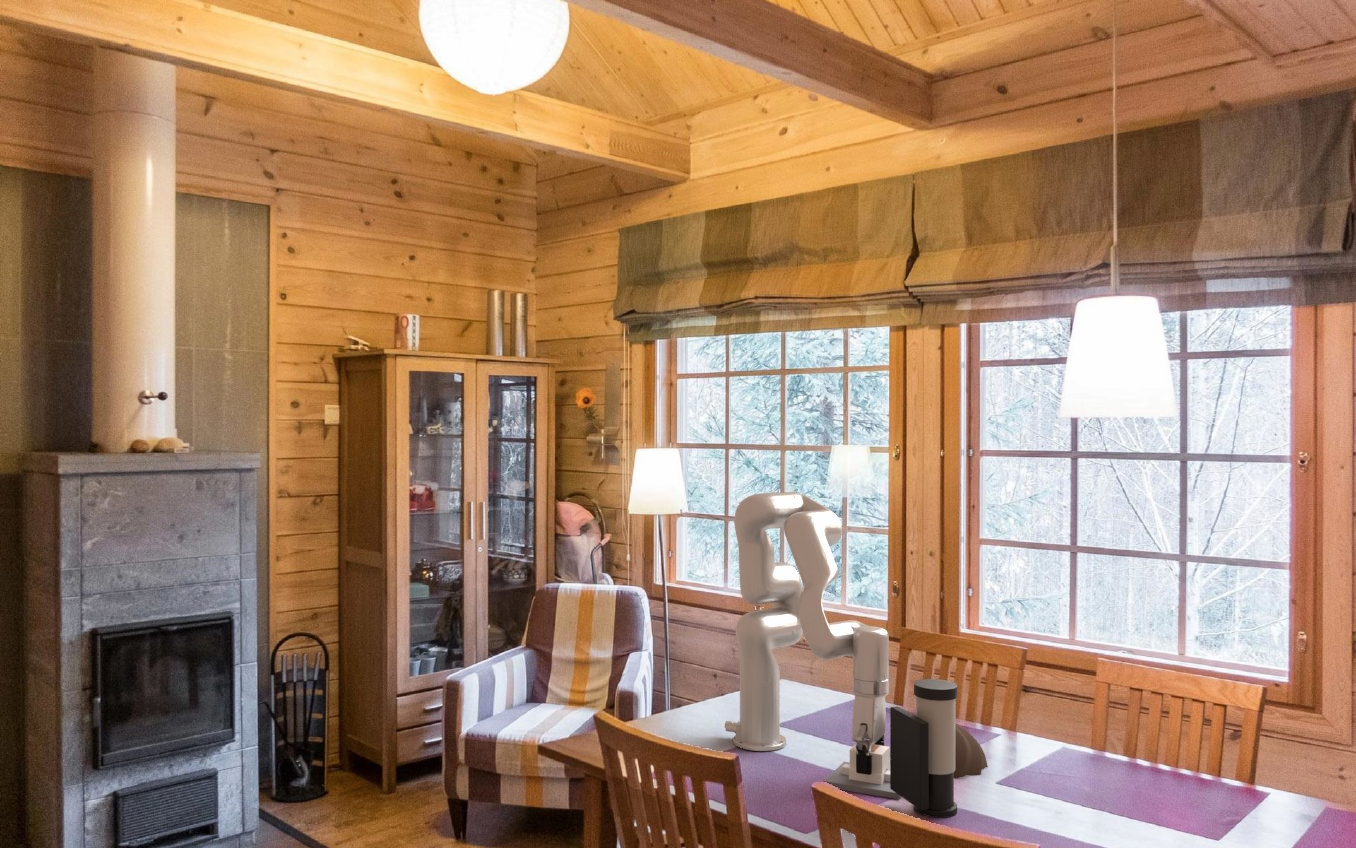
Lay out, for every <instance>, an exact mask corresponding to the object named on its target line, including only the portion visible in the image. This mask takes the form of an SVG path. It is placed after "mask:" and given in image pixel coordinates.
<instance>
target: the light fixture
mask: <svg viewBox="0 0 1356 848" xmlns="http://www.w3.org/2000/svg"><path fill="white" fill-rule="evenodd" d="M958 687H959V686H958V684H957V683H956V682H953V681H950V680H945V679H938V678H936V679H935V678H923V679H918V680H915V681H914V682H913V695H914V696H915V715H914V714H913V713H911V712H909V711H907V710H905V709H904V708H901V707H899V706H890V708H889V709H890V711H889V713H890V716H889V717H890V720H889V721H890V725H889V726H890V728H889V729H890V731H889V733H890V737H889V739H890V740H889V743H890V744H889V745H890V746H889V747H890V789H891V790H893V791H894V792H896V793H897V794H898V795H900V796H901V798H902V799H904V800H906V801H907V802H908V803H910V804H911V805H912V806H913V808H914V810H915V811H916V812H917V813H919V814H921V815H923V816H927V817H932V818H949V817H953V816H955V815H956V814H957V813H958V804H957V803H956V802H955V797H954V796H955V789H954V788H955V787H954V784H955V782H954V781H955V780H954V779H955V778H954V771H955V723H956V699H957V698H958V696H959V694H958V693H959V691H958V689H959V688H958Z"/></svg>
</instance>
